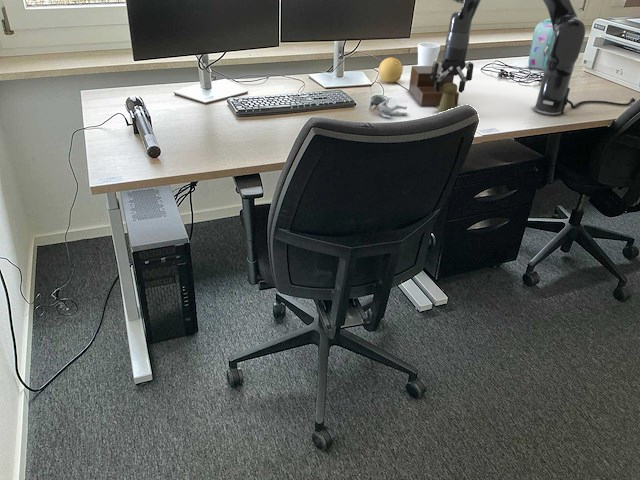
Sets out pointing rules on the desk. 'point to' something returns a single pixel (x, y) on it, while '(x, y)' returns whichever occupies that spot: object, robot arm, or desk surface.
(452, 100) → the olive pawn
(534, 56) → the lunch box
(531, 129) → the desk surface
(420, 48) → the foam cup
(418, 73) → the step shelf
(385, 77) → the stress ball
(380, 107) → the soldier figure
